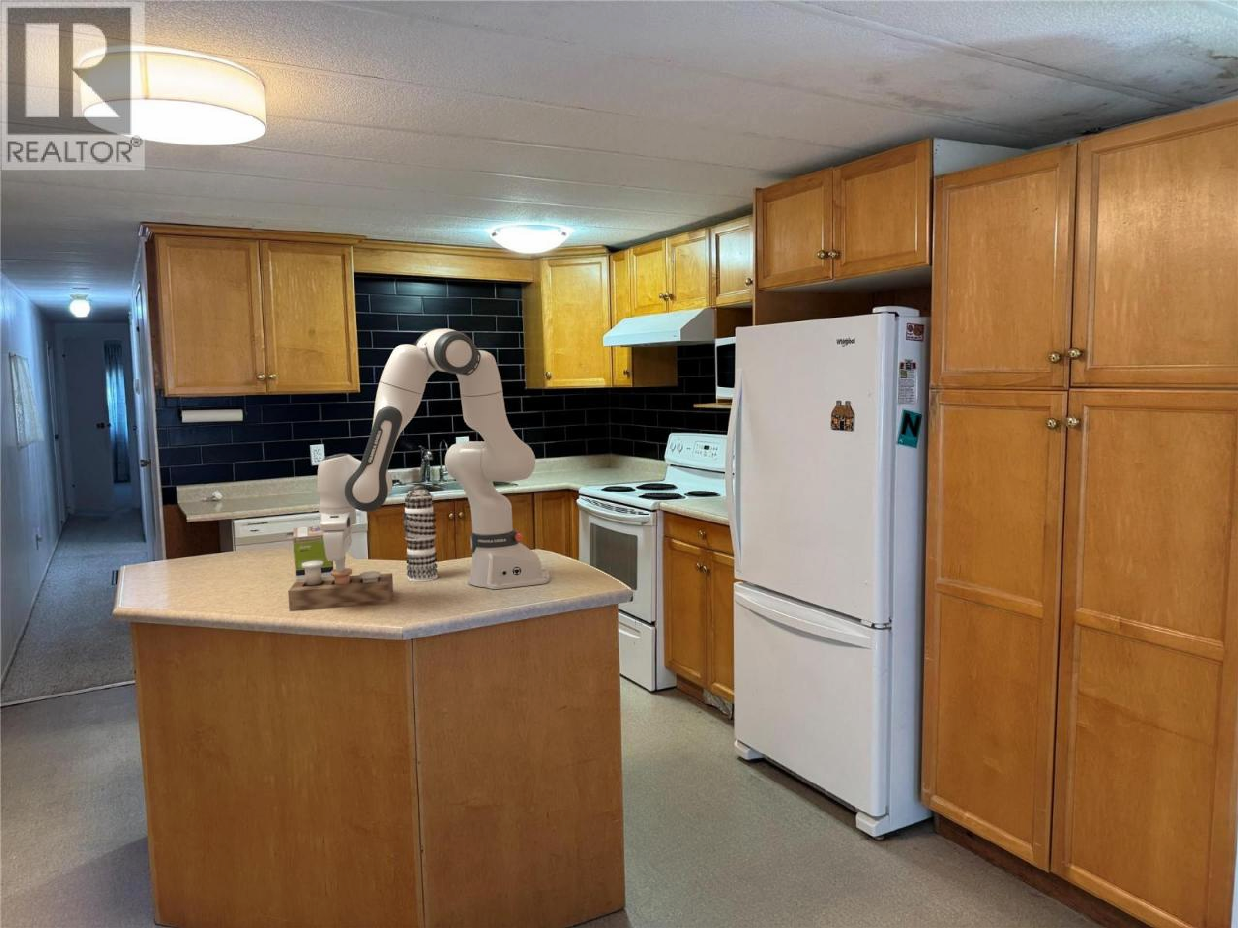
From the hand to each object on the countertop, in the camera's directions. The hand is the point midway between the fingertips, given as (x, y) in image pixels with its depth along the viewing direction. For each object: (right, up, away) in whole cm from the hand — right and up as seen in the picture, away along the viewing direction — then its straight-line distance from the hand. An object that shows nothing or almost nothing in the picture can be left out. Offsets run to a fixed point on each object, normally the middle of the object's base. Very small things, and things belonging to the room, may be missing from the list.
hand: (340, 570), depth 214 cm
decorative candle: (+15, -5, +23) cm, 28 cm away
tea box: (-15, -6, +23) cm, 28 cm away
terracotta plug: (0, -5, +1) cm, 5 cm away
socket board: (0, -8, +1) cm, 8 cm away
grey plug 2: (+7, -6, +2) cm, 10 cm away
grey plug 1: (-7, -3, 0) cm, 8 cm away
